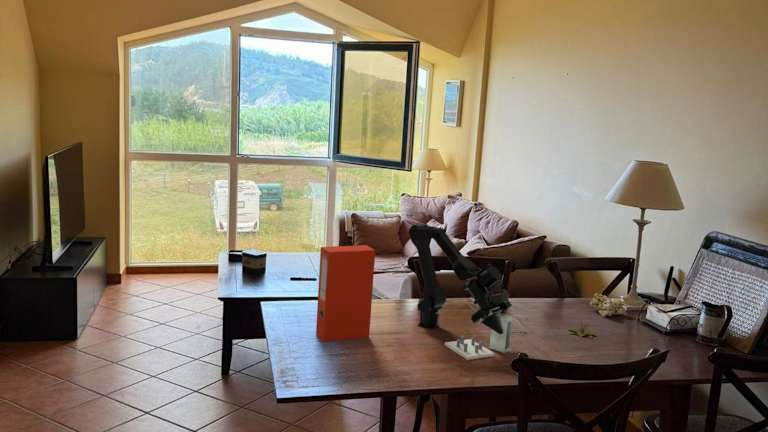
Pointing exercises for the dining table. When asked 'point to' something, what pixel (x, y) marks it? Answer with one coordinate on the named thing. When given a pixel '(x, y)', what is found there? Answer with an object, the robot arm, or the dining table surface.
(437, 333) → the dining table surface
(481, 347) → the white pegged base
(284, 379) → the dining table surface
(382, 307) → the dining table surface
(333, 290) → the file binder
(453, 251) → the robot arm
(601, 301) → the mineral formation
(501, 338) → the block
